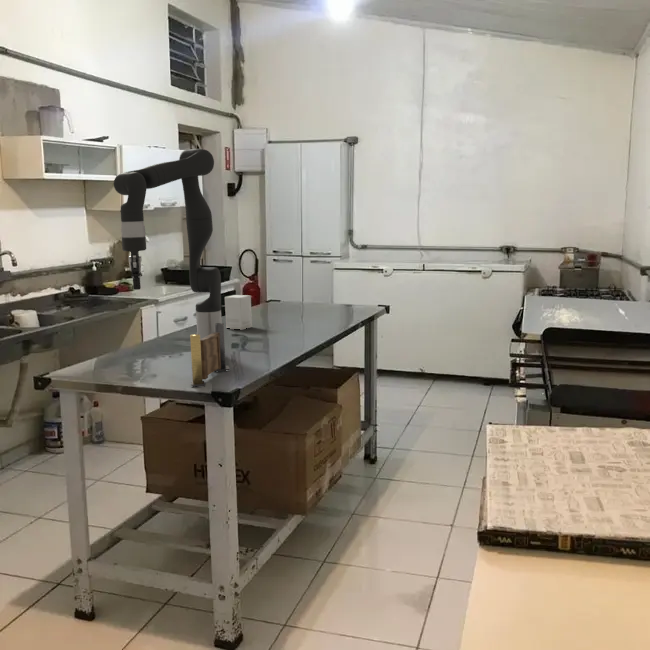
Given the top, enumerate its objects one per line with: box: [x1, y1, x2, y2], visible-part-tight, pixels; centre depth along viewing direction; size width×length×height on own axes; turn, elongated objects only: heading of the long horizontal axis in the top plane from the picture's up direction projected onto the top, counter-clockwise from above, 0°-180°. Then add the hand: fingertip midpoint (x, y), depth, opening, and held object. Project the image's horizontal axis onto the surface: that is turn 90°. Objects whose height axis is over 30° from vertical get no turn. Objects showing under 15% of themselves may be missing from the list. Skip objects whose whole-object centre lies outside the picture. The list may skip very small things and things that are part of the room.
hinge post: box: [215, 322, 231, 372], centre depth 236 cm, size 5×5×16 cm
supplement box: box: [224, 294, 253, 331], centre depth 319 cm, size 9×9×15 cm
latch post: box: [189, 333, 206, 387], centre depth 216 cm, size 4×4×16 cm
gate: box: [200, 332, 221, 380], centre depth 226 cm, size 17×2×13 cm, turn 168°
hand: (137, 289), depth 227 cm, fingers closed
